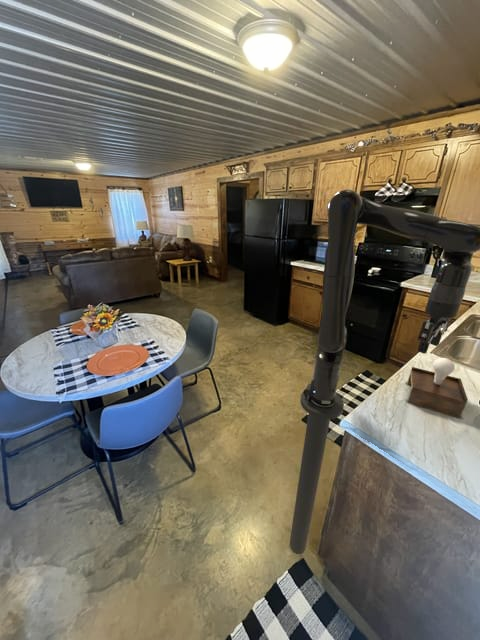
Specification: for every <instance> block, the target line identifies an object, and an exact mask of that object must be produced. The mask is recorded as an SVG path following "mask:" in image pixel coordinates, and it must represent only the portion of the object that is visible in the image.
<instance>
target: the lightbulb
mask: <svg viewBox="0 0 480 640" xmlns="http://www.w3.org/2000/svg"><path fill="white" fill-rule="evenodd" d="M432 367H433V370H434V372H435V376H434V377H435V378H434V383H435V384H437V385H441V384H442V382H443V380H445V378H446V376H450V375H451V374H452V373H453V372H454V371H455V364H454V362H453V361H452V360H451V359H449V358H447V357H440V358H437V359H435V361H433V365H432Z"/></svg>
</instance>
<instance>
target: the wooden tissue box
mask: <svg viewBox="0 0 480 640" xmlns="http://www.w3.org/2000/svg"><path fill="white" fill-rule="evenodd" d="M434 376H435V371H431V370H428V369H427V370H426V369H423V368H418V367H415V366H411V369H410V372H409V376H408V378H407V382H406V384H407V385H409V386H410V388H411V389H410V391H409V395H408V398H407V403H409V404H411V405H412V404H413V405H416V406H419V407H423V408H424V409H425V408H426V409H429V410H432V411H436V412H439V413H441V414H446V415H449V416H453V417H456V418H458V419H460V418H461V416H462V414H463V412H464V410H465V408H466V406H467V403H468V401H469V399H468V396H467V392H466V390H465V388H464V387H465V386H464V384H463V382H462V381H463V380H462V378H459V377H455V376H450V375H447V376H446V378H445V380H443V382H442V384H441V385H437V384H435V383H434V378H435V377H434Z"/></svg>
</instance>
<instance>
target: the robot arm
mask: <svg viewBox="0 0 480 640" xmlns="http://www.w3.org/2000/svg"><path fill="white" fill-rule="evenodd" d="M327 224H328V225H327V229H328V231H327V232H328V233H327V235H328V237H327V238H328V239H327V247H326V253H325V258H324V268H323V275H322V276H323V277H322V295H321V296H322V298H321V299H322V300H321V301H322V303H321V306H322V311H321V319H320V326H319V331H318V335H317V343H318V348H317V351H316V355H315V361H314V362H315V363H314V367H313V368H314V369H313V376H312V379H311V381H310V382H308V384H307V386H306V387H305V388H304V390H303V391H304V395H305V397H307V396H309V401H311V402H312V403H313V404H314V405H316V406H318V407H321V408H330V407H332V406H333V405H334V402H335V396H336V393H337V391H338V385H339V379H340V375H341V370H342V369H341V368H342V364H343V360H344V355H345V349H346V344H347V340H348V330H347V327H346V326H345V325H346V314H347V311H348V307H349V305H350V300H351V296H352V293H353V292H352V291H353V287H354V279H355V267H356V266H355V265H356V261H355V260H356V259H355V258H356V257H355V256H356V255H355V238H356V232H357V227H358V225H363V226H364V225H366V226H369V227H374V228H377V229H380V230H383V231H386V232H388V233H391V234H394V235H397V236H399V237H402V238H406V239H409V240H412V241H416V242H419V243H425V244H430V245H434V246H437V247H439V248H441V249H443V250H442V255H441V263H440V266H439V268H438V270H437V274H436V277H435V280H434V283H433V285H432V287H431V290H430V294H429V295H428V298H427V302H426V305H425V309H424V311H425V313H426V314H428V315H429V316H430V317H429V318H428V319H427V320H423V322H422V325H421V328H420V330H419V333H418V335H417V336H418V337H417V340H418V341H419V344H418V348H417V352H419V353H421V354H427V353H428V350H429V347H430V345H432V346H434V347H437V346H439V345H440V342H441V340H442V337H443V336H444V334H445V333H446V332H448V329H449V325H450V324H451V320H452V319H455V318H456V317H457V316H458V313H459V310H460V307H461V304H462V302H463V299H464V297H465V294H466V289H467V286H468V282H469V280H470V277H471V275H472V269H473V266H472V258H473V255H474V253H476V252H478V251H480V225H476V224H471V223H466V222H462V221H457V220H451V219H447V218H444V217H441V216H438V215H436V214H435V215H434V214H430V213H427V212H423V211H418V210H413V209H407V208H402V207H396V206H391V205H386V204H383V203H379V202H375V201H373V200H371V199H369V198H366V197H364V196H362V195H360V194H359V193H358V192H356V191H354V190H352V189H342V190H339V191H338V192H336V193H335V194H334V195H333V196H332V197H331V198H330V201H329V202H328V206H327Z"/></svg>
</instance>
